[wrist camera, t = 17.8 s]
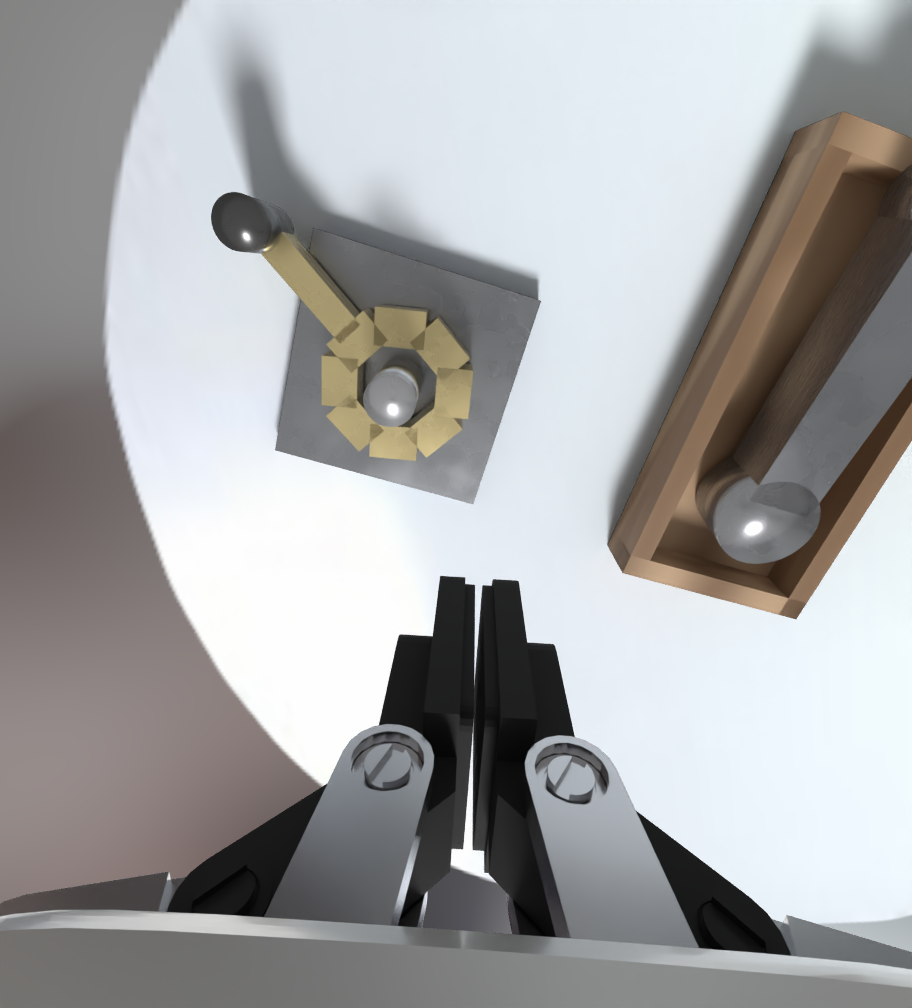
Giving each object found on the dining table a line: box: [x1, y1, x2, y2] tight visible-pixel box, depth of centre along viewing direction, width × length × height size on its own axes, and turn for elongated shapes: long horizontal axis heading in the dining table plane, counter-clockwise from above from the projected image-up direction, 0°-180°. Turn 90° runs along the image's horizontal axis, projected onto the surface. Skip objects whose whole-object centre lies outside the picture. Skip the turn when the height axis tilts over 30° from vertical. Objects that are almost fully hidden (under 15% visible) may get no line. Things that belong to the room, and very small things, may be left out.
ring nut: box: [211, 192, 473, 461], centre depth 27 cm, size 14×8×4 cm, turn 39°
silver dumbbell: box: [696, 165, 912, 564], centre depth 27 cm, size 20×5×4 cm, turn 164°
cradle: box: [608, 112, 912, 619], centre depth 30 cm, size 11×23×4 cm, turn 164°
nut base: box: [275, 228, 541, 504], centre depth 28 cm, size 12×12×6 cm
